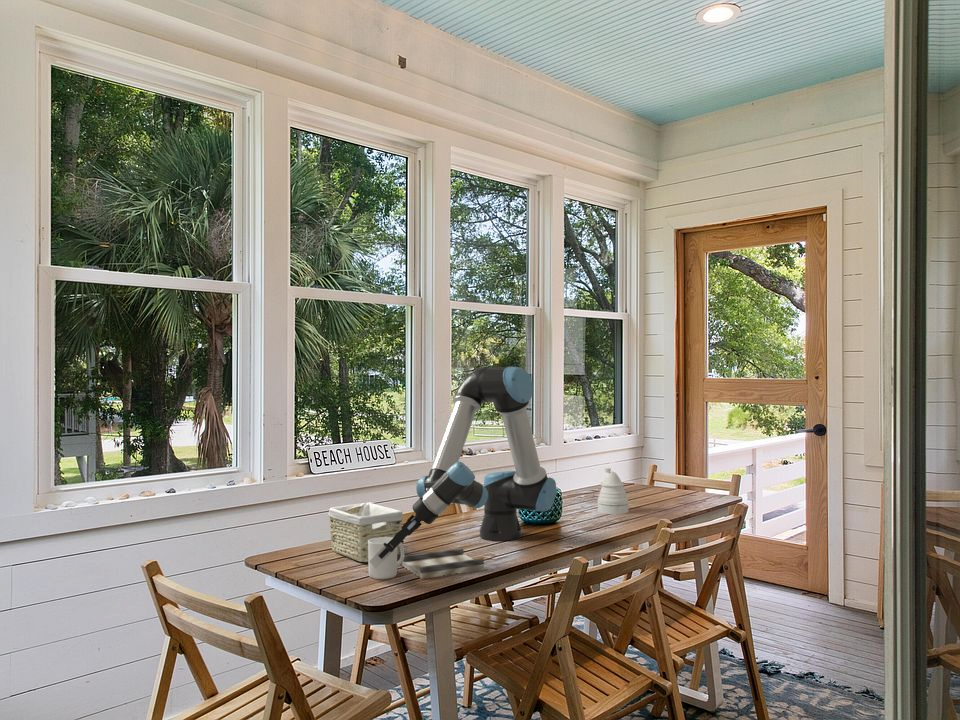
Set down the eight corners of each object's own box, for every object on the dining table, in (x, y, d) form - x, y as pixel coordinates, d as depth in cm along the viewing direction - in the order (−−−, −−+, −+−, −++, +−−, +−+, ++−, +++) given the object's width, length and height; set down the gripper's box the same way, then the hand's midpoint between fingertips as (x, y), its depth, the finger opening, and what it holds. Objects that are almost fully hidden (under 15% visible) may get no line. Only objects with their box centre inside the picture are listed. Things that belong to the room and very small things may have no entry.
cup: (362, 575, 201) (362, 540, 202) (395, 567, 210) (395, 533, 210) (380, 581, 196) (379, 545, 196) (412, 572, 204) (412, 537, 204)
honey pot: (594, 513, 291) (594, 470, 292) (601, 507, 303) (600, 466, 303) (625, 515, 286) (624, 471, 287) (631, 509, 298) (630, 467, 299)
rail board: (461, 557, 221) (461, 548, 221) (484, 569, 206) (484, 559, 206) (402, 565, 212) (402, 555, 212) (421, 578, 197) (421, 568, 197)
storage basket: (326, 550, 232) (326, 506, 232) (370, 543, 242) (369, 501, 242) (359, 565, 213) (359, 517, 213) (405, 557, 222) (405, 510, 223)
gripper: (427, 490, 213) (377, 542, 214) (414, 503, 191) (357, 560, 192) (444, 508, 212) (394, 559, 213) (433, 523, 190) (376, 580, 191)
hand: (377, 560), depth 202 cm, fingers closed on cup, 10 cm apart
